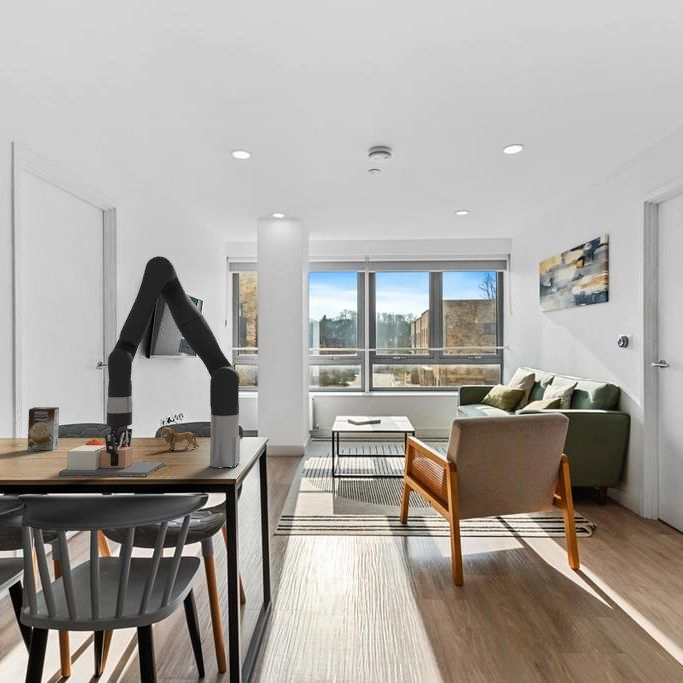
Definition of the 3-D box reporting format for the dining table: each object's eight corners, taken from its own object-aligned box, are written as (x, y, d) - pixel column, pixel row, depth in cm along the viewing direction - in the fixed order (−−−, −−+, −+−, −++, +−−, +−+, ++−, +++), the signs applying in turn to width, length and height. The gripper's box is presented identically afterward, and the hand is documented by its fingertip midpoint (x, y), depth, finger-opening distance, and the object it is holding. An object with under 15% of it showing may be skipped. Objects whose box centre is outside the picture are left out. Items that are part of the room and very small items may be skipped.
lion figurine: (161, 452, 181) (162, 428, 181) (159, 450, 186) (159, 426, 186) (201, 449, 188) (201, 426, 189) (197, 446, 193) (198, 424, 193)
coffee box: (26, 451, 180) (27, 409, 181) (32, 448, 187) (33, 407, 187) (53, 450, 183) (54, 408, 183) (58, 447, 189) (59, 406, 189)
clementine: (91, 456, 173) (91, 436, 174) (110, 456, 173) (110, 436, 174) (78, 461, 165) (79, 440, 166) (98, 461, 165) (99, 440, 166)
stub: (132, 464, 156) (132, 447, 156) (125, 468, 151) (125, 450, 151) (107, 464, 156) (108, 446, 156) (99, 467, 151) (100, 449, 151)
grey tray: (163, 465, 160) (164, 444, 160) (146, 476, 146) (147, 453, 146) (83, 464, 160) (84, 443, 161) (58, 475, 146) (59, 452, 147)
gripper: (120, 413, 147) (119, 469, 146) (140, 408, 161) (139, 458, 161) (96, 413, 147) (95, 469, 146) (118, 408, 161) (117, 458, 161)
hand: (118, 463), depth 153 cm, fingers closed on stub, 5 cm apart
